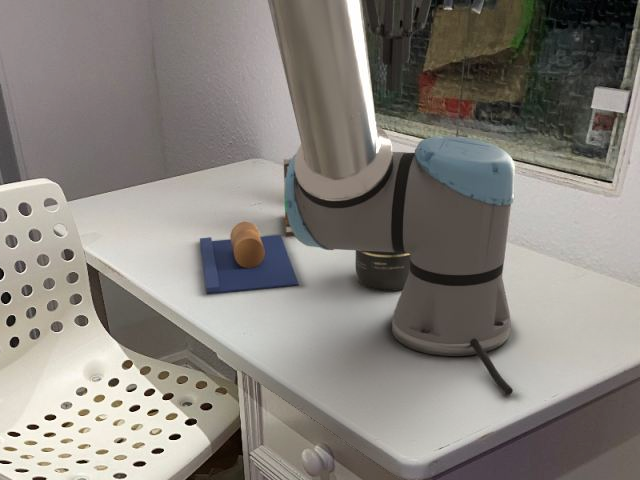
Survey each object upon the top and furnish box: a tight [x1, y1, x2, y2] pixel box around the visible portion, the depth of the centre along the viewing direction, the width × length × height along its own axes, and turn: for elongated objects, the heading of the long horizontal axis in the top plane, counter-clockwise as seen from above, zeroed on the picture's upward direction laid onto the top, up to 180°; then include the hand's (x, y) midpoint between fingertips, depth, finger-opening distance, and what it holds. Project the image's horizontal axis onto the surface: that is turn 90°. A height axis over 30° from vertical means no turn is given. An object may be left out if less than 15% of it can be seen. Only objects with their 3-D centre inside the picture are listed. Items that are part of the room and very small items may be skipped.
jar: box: [354, 250, 410, 292], centre depth 121 cm, size 10×10×8 cm
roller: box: [229, 221, 264, 268], centre depth 131 cm, size 8×5×5 cm
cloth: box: [199, 234, 300, 295], centre depth 132 cm, size 22×14×1 cm, turn 6°
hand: (393, 89), depth 116 cm, fingers closed
